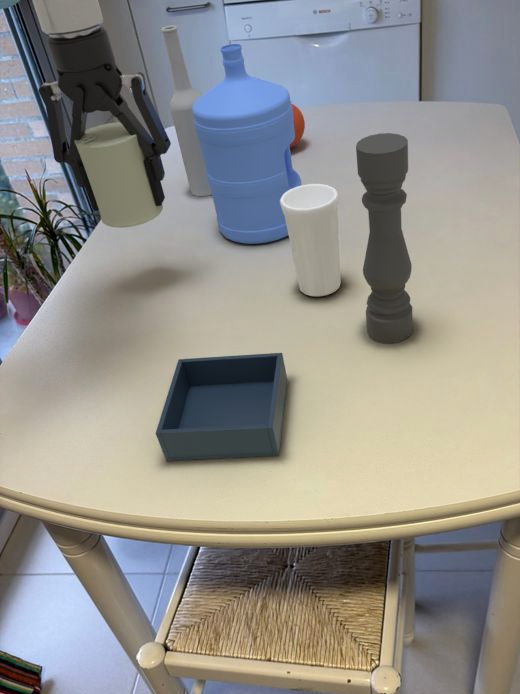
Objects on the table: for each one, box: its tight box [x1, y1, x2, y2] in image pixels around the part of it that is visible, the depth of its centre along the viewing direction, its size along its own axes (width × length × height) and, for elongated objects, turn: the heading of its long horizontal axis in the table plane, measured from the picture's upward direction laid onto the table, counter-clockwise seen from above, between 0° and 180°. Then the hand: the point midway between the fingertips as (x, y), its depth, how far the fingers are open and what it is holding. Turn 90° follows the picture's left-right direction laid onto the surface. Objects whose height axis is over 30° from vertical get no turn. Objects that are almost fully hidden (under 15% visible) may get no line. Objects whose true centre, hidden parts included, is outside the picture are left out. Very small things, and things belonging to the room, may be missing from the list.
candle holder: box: [355, 132, 414, 344], centre depth 79 cm, size 6×6×25 cm
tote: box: [154, 352, 288, 462], centre depth 77 cm, size 13×13×4 cm
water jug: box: [192, 43, 303, 245], centre depth 105 cm, size 16×16×28 cm
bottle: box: [161, 24, 212, 197], centre depth 118 cm, size 7×7×28 cm
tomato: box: [289, 100, 306, 149], centre depth 135 cm, size 10×10×10 cm
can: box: [75, 121, 164, 229], centre depth 93 cm, size 9×9×12 cm
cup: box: [280, 183, 342, 297], centre depth 93 cm, size 8×8×14 cm
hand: (129, 204), depth 96 cm, fingers closed on can, 9 cm apart
